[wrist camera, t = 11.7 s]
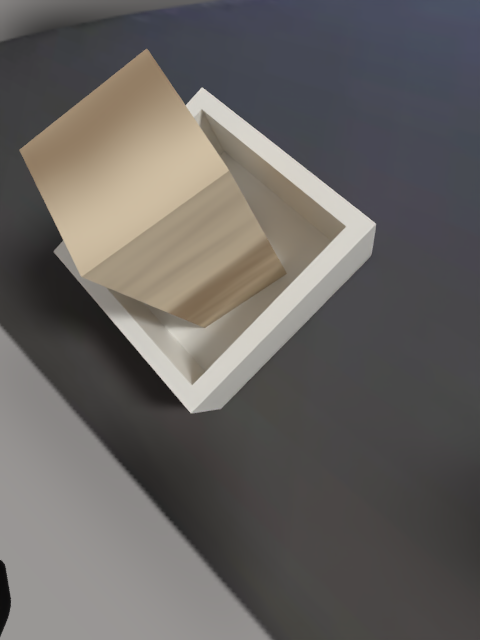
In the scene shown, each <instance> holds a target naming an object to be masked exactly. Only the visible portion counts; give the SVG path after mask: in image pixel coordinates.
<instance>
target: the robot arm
mask: <svg viewBox="0 0 480 640" xmlns="http://www.w3.org/2000/svg"><path fill="white" fill-rule="evenodd" d="M10 607H11V597H10V591H9V586H8V579H7V573H6V568H5V564H4V563H3V562H2V561H1V560H0V636H1V634H2V631H3V629H4V626H5V624H6V621H7V619H8V616H9V612H10Z"/></svg>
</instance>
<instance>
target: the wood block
mask: <svg viewBox="0 0 480 640" xmlns="http://www.w3.org/2000/svg"><path fill="white" fill-rule="evenodd" d="M20 152H21V154H22V156H23V158H24V160H25V162H26V164H27V166H28V168H29V170H30V173H31V175H32V177H33V179H34V181H35V183H36V185H37V187H38V189H39V191H40V193H41V195H42V197H43V199H44V201H45V203H46V205H47V207H48V210H49V212H50V214H51V216H52V218H53V220H54V222H55V224H56V226H57V228H58V230H59V232H60V234H61V236H62V238H63V240H64V242H65V244H66V246H67V249H68V251H69V253H70V255H71V257H72V259H73V261H74V263H75V265H76V267H77V269H78V271H79V273H80V275H81V277H83V278H85V279H88V280H90V281H92V282H95V283H97V284H100V285H102V286H104V287H107V288H109V289H112V290H114V291H117V292H119V293H121V294H124V295H126V296H129V297H131V298H134V299H136V300H138V301H141V302H143V303H146V304H148V305H150V306H153V307H155V308H158V309H160V310H163V311H165V312H167V313H170V314H172V315H175V316H177V317H179V318H182V319H184V320H187V321H189V322H192V323H194V324H196V325H199V326H201V327H204V328H206V327H207V326H209V325H210V324H212V323H213V322H215V321H216V320H218V319H219V318H221V317H222V316H224V315H225V314H227V313H228V312H230V311H231V310H233V309H234V308H236V307H237V306H239V305H240V304H242V303H243V302H245V301H246V300H248V299H249V298H251V297H252V296H254V295H255V294H257V293H259V292H260V291H262V290H263V289H265V288H266V287H268V286H269V285H271V284H272V283H274V282H275V281H277V280H278V279H280V278H281V277H283V276H284V275H286V274H287V273H286V271H285V269H284V267H283V266H282V264H281V262H280V260H279V259H278V257H277V255H276V253H275V251H274V250H273V248H272V246H271V244H270V242H269V241H268V239H267V237H266V235H265V233H264V232H263V230H262V228H261V226H260V224H259V223H258V221H257V219H256V217H255V216H254V214H253V212H252V210H251V208H250V207H249V205H248V203H247V201H246V199H245V198H244V196H243V194H242V192H241V190H240V189H239V187H238V185H237V183H236V181H235V180H234V178H233V176H232V174H231V172H230V171H229V169H228V168H227V166H226V165H225V163H224V162H223V160H222V159H221V157H220V156H219V154H218V153H217V151H216V150H215V148H214V147H213V145H212V144H211V143H210V141H209V140H208V138H207V137H206V135H205V134H204V132H203V131H202V129H201V128H200V126H199V125H198V123H197V122H196V120H195V119H194V117H193V116H192V114H191V113H190V111H189V110H188V109H187V107H186V106H185V104H184V103H183V101H182V100H181V98H180V97H179V95H178V94H177V92H176V91H175V89H174V88H173V86H172V85H171V83H170V82H169V80H168V79H167V77H166V76H165V74H164V73H163V72H162V70H161V69H160V67H159V66H158V64H157V63H156V61H155V60H154V58H153V57H152V55H151V54H150V52H149V51H148V49H146V50H144V51H143V52H142V53H141V54H139V55H138V56H137V57H136V58H134V59H133V60H132V61H131V62H129V63H128V64H127V65H126V66H124V67H123V68H122V69H121V70H119V71H118V72H117V73H115V74H114V75H113V76H112V77H110V78H109V79H108V80H107V81H105V82H104V83H103V84H102V85H100V86H99V87H98V88H97V89H95V90H94V91H93V92H92V93H90V94H89V95H88V96H87V97H85V98H84V99H83V100H82V101H80V102H79V103H78V104H77V105H75V106H74V107H73V108H72V109H70V110H69V111H68V112H66V113H65V114H64V115H63V116H61V117H60V118H59V119H58V120H56V121H55V122H54V123H53V124H51V125H50V126H49V127H48V128H46V129H45V130H44V131H43V132H41V133H40V134H39V135H38V136H36V137H35V138H34V139H33V140H31V141H30V142H29V143H28V144H26V145H25V146H24V147H23V148H21V149H20Z"/></svg>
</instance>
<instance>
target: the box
mask: <svg viewBox="0 0 480 640" xmlns="http://www.w3.org/2000/svg"><path fill="white" fill-rule="evenodd" d="M186 107H187V109H188V110H189V111H190V113H191V114H192V116H193V117H194V119H195V120H196V122H197V123H198V125H199V126H200V128H201V129H202V131H203V132H204V134H205V135H206V137H207V138H208V140H209V141H210V143H211V144H212V145H213V147H214V148H215V150H216V151H217V153H218V154H219V156H220V157H221V159H222V160H223V162H224V163H225V165H226V166H227V168H228V169H229V171H230V172H231V174H232V176H233V178H234V180H235V181H236V183H237V185H238V187H239V189H240V190H241V192H242V194H243V196H244V198H245V199H246V201H247V203H248V205H249V207H250V208H251V210H252V212H253V214H254V216H255V217H256V219H257V221H258V223H259V224H260V226H261V228H262V230H263V232H264V233H265V235H266V237H267V239H268V241H269V242H270V244H271V246H272V248H273V250H274V251H275V253H276V255H277V257H278V259H279V260H280V262H281V264H282V266H283V267H284V269H285V271H286V273H287V274H286V275H284V276H283V277H281V278H280V279H278V280H277V281H275V282H274V283H272V284H271V285H269V286H268V287H266V288H265V289H263V290H262V291H260V292H259V293H257V294H255V295H254V296H252V297H251V298H249V299H248V300H246V301H245V302H243V303H242V304H240V305H239V306H237V307H236V308H234V309H233V310H231V311H230V312H228V313H227V314H225V315H224V316H222V317H221V318H219V319H218V320H216V321H215V322H213V323H212V324H210V325H209V326H207V327H206V328H204V327H201V326H199V325H196V324H194V323H192V322H189V321H187V320H184V319H182V318H179V317H177V316H175V315H172V314H170V313H167V312H165V311H163V310H160V309H158V308H155V307H153V306H150V305H148V304H146V303H143V302H141V301H138V300H136V299H134V298H131V297H129V296H126V295H124V294H121V293H119V292H117V291H114V290H112V289H109V288H107V287H104V286H102V285H100V284H97V283H95V282H92V281H90V280H88V279H85V278H83V277H81V275H80V273H79V271H78V269H77V267H76V265H75V263H74V261H73V259H72V257H71V255H70V253H69V251H68V249H67V246H66V244H65V242H64V240H63V241H62V242H61V244H60V245H59V246H58V247H57V248H56V249H55V250H54V251H53V252H54V253H55V254H56V255H57V256H58V258H59V259H60V260H61V261H62V262H63V264H64V265H65V266H66V267H67V268H68V269H69V271H70V272H71V273H72V274H73V275H74V276H75V278H76V279H77V280H78V281H79V282H80V284H81V285H82V286H83V287H84V288H85V289H86V291H87V292H88V293H89V294H90V295H91V296H92V298H93V299H94V300H95V301H96V302H97V304H98V305H99V306H100V307H101V308H102V309H103V311H104V312H105V313H106V314H107V315H108V316H109V318H110V319H111V320H112V321H113V322H114V324H115V325H116V326H117V327H118V328H119V329H120V331H121V332H122V333H123V334H124V335H125V336H126V338H127V339H128V340H129V341H130V342H131V344H132V345H133V346H134V347H135V348H136V349H137V351H138V352H139V353H140V354H141V355H142V356H143V358H144V359H145V360H146V361H147V362H148V364H149V365H150V366H151V367H152V368H153V369H154V371H155V372H156V373H157V374H158V375H159V376H160V378H161V379H162V380H163V381H164V382H165V384H166V385H167V386H168V387H169V388H170V389H171V391H172V392H173V393H174V394H175V395H176V396H177V398H178V399H179V400H180V401H181V402H182V404H183V405H184V406H185V407H186V408H187V409H188V411H189V412H190V413H198V412H204V411H210V410H217V409H221V408H222V407H223V406H224V405H225V404H226V403H227V402H228V401H229V400H230V399H231V398H232V397H233V396H234V395H235V394H236V393H237V392H238V391H239V390H240V389H241V388H242V387H243V386H244V385H245V384H246V383H247V382H248V381H249V380H250V379H251V378H252V377H253V376H254V375H255V374H256V373H257V372H258V371H259V370H260V369H261V368H262V367H263V365H264V364H265V363H266V362H267V361H268V360H269V359H270V358H271V357H272V356H273V355H274V354H275V353H276V352H277V351H278V350H279V349H280V348H281V347H282V346H283V345H284V344H285V343H286V342H287V341H288V340H289V339H290V338H291V337H292V336H293V335H294V334H295V333H296V332H297V331H298V330H299V329H300V328H301V327H302V326H303V325H304V324H305V323H306V322H307V321H308V320H309V319H310V318H311V317H312V316H313V315H314V314H315V313H316V312H317V311H318V310H319V309H320V307H321V306H322V305H323V304H324V303H325V302H326V301H327V300H328V299H329V298H330V297H331V296H332V295H333V294H334V293H335V292H336V291H337V290H338V289H339V288H340V287H341V286H342V285H343V284H344V283H345V282H346V281H347V280H348V279H349V278H350V277H351V276H352V275H353V274H354V273H355V272H356V271H357V270H358V269H359V268H360V267H361V266H362V265H363V264H364V263H365V262H366V261H367V260H368V259H369V258H370V257H371V254H372V248H373V241H374V235H375V228H376V223H374V222H373V221H372V220H371V219H369V218H368V217H367V216H365V215H364V214H363V213H362V212H360V211H359V210H358V209H357V208H355V207H354V206H353V205H351V204H350V203H349V202H348V201H346V200H345V199H344V198H343V197H341V196H340V195H339V194H337V193H336V192H335V191H334V190H332V189H331V188H330V187H329V186H327V185H326V184H325V183H323V182H322V181H321V180H320V179H318V178H317V177H316V176H315V175H313V174H312V173H311V172H309V171H308V170H307V169H306V168H304V167H303V166H302V165H301V164H299V163H298V162H297V161H295V160H294V159H293V158H292V157H290V156H289V155H288V154H286V153H285V152H284V151H283V150H281V149H280V148H279V147H278V146H276V145H275V144H274V143H272V142H271V141H270V140H269V139H267V138H266V137H265V136H264V135H262V134H261V133H260V132H258V131H257V130H256V129H255V128H253V127H252V126H251V125H250V124H248V123H247V122H246V121H244V120H243V119H242V118H241V117H239V116H238V115H237V114H236V113H234V112H233V111H232V110H230V109H229V108H228V107H227V106H225V105H224V104H223V103H222V102H220V101H219V100H218V99H216V98H215V97H214V96H213V95H211V94H210V93H209V92H208V91H206V90H205V89H204V88H201V89H200V90H199V91H198V92H197V94H196V95H195V96H194V97H193V98H192V99H191V100H190V101H189V102H188V104H187V105H186Z"/></svg>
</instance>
